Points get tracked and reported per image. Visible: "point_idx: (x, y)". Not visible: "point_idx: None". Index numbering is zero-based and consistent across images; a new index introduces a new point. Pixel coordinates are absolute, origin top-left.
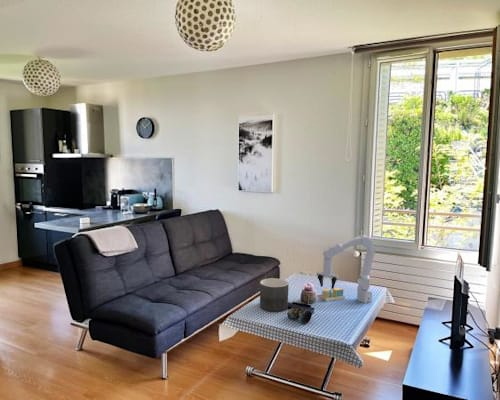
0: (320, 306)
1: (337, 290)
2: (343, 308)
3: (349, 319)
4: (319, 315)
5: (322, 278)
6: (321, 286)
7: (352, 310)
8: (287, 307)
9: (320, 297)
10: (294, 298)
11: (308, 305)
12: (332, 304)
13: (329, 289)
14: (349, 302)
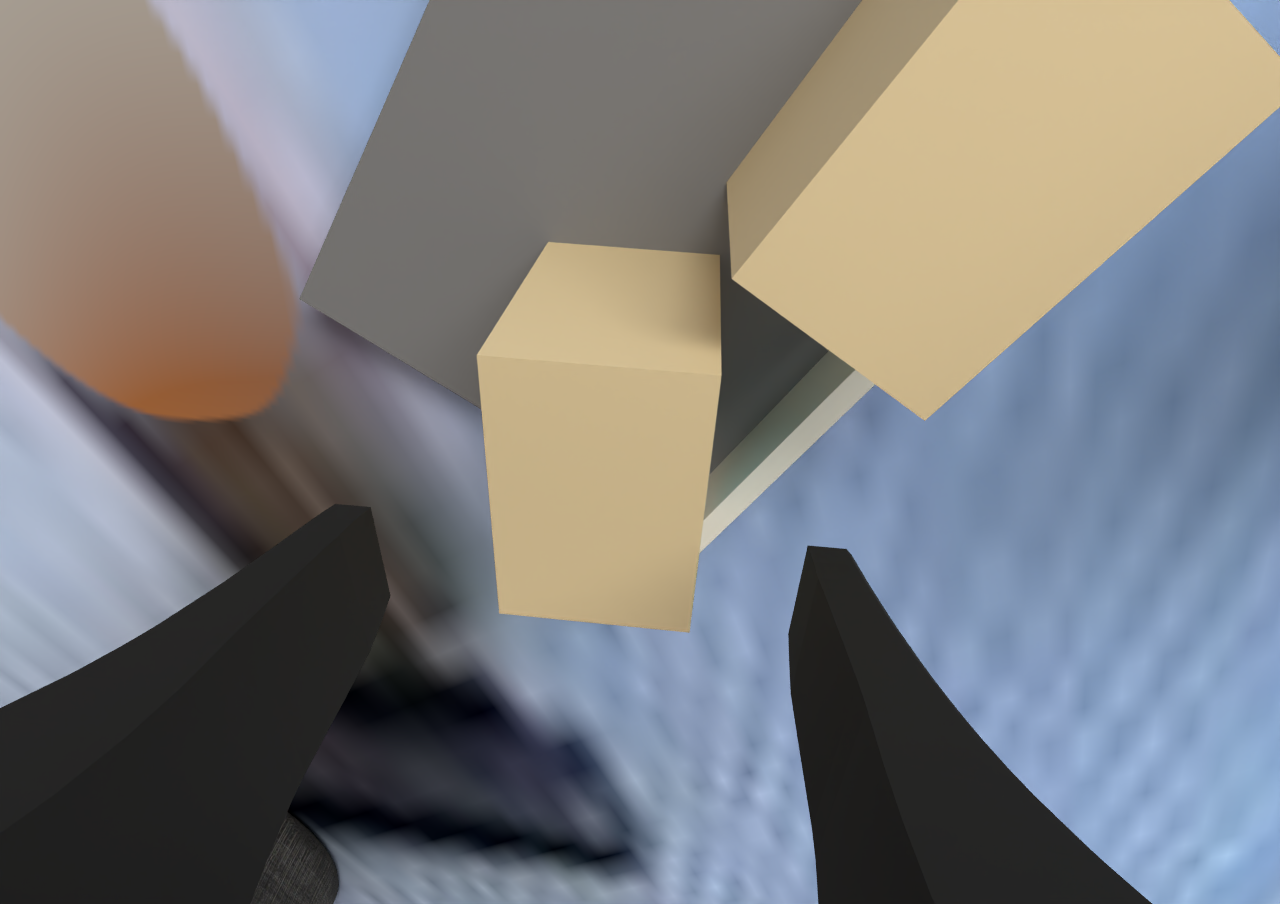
0: (647, 660)
1: (977, 362)
2: (1071, 588)
3: (1155, 856)
4: (743, 867)
5: (151, 842)
6: (381, 606)
7: (1261, 603)
8: (316, 853)
9: (469, 369)
10: (90, 543)
11: (467, 691)
12: (823, 504)
13: (662, 447)
14: (1268, 176)
